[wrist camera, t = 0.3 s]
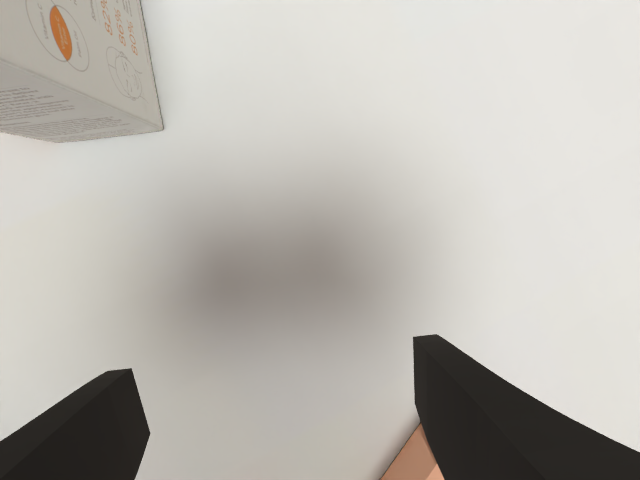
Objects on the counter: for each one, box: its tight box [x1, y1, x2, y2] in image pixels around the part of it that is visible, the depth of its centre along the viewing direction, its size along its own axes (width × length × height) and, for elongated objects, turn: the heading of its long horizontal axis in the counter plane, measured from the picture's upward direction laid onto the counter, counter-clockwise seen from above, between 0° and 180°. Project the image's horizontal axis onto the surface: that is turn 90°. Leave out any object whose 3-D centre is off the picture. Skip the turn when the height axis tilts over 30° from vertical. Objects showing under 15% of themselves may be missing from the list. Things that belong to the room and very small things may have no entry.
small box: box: [0, 0, 163, 143], centre depth 13 cm, size 8×6×10 cm
